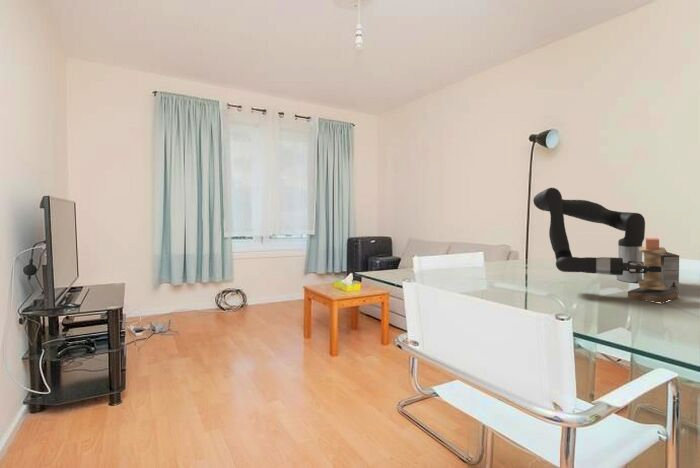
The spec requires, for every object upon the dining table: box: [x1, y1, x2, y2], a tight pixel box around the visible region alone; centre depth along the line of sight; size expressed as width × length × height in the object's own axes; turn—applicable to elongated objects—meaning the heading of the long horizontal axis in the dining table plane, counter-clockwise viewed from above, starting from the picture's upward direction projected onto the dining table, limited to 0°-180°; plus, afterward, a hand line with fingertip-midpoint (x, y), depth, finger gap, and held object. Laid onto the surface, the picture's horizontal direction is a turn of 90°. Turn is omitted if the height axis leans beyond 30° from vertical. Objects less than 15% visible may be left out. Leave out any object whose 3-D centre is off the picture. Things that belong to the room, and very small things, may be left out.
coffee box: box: [660, 251, 680, 293], centre depth 160 cm, size 9×6×16 cm
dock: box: [627, 287, 679, 303], centre depth 151 cm, size 12×12×3 cm
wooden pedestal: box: [638, 246, 667, 290], centre depth 150 cm, size 8×8×16 cm
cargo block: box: [644, 237, 660, 250], centre depth 149 cm, size 4×4×4 cm
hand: (660, 268), depth 148 cm, fingers closed on wooden pedestal, 5 cm apart
